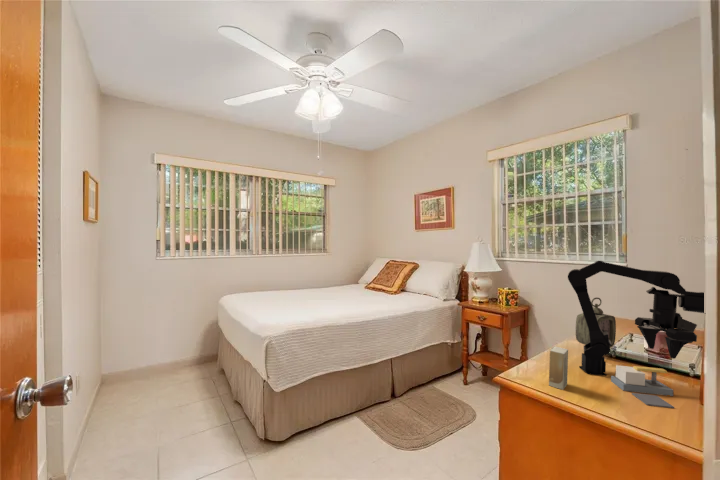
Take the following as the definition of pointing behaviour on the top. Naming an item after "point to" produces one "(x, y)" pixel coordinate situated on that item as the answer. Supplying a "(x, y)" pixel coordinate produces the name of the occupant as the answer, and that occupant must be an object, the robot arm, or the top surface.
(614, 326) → the tabletop clock
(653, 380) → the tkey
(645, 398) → the mat
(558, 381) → the skincare box
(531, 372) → the top surface
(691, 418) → the top surface
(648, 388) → the latch base
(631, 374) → the cover
